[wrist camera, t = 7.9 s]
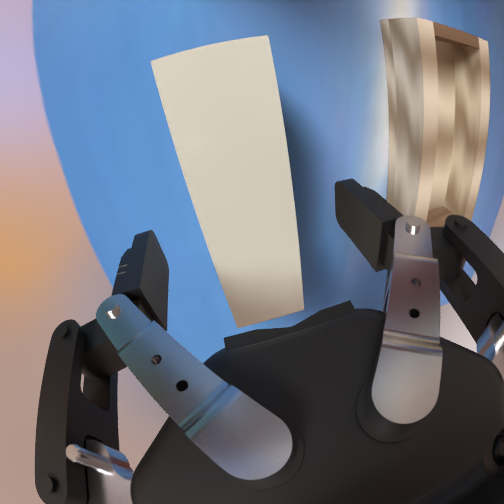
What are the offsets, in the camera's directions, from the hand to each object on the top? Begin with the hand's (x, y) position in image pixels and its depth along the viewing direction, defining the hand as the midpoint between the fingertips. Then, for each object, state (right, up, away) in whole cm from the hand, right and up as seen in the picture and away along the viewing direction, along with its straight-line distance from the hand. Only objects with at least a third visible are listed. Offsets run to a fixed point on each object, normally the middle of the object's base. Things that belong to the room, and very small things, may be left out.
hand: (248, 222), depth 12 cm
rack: (+15, +9, +7) cm, 19 cm away
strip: (-2, +5, +6) cm, 8 cm away
